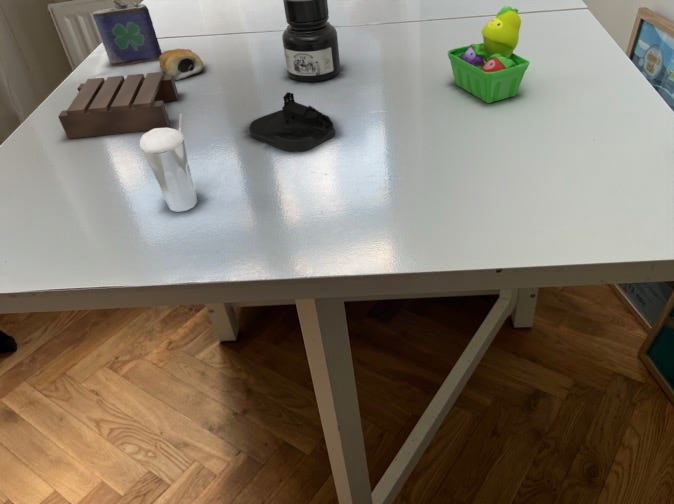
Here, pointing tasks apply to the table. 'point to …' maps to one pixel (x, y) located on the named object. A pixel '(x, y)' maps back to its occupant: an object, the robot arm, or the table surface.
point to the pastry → (180, 63)
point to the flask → (127, 33)
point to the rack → (119, 105)
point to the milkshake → (170, 166)
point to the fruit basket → (491, 60)
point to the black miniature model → (293, 127)
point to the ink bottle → (310, 41)
